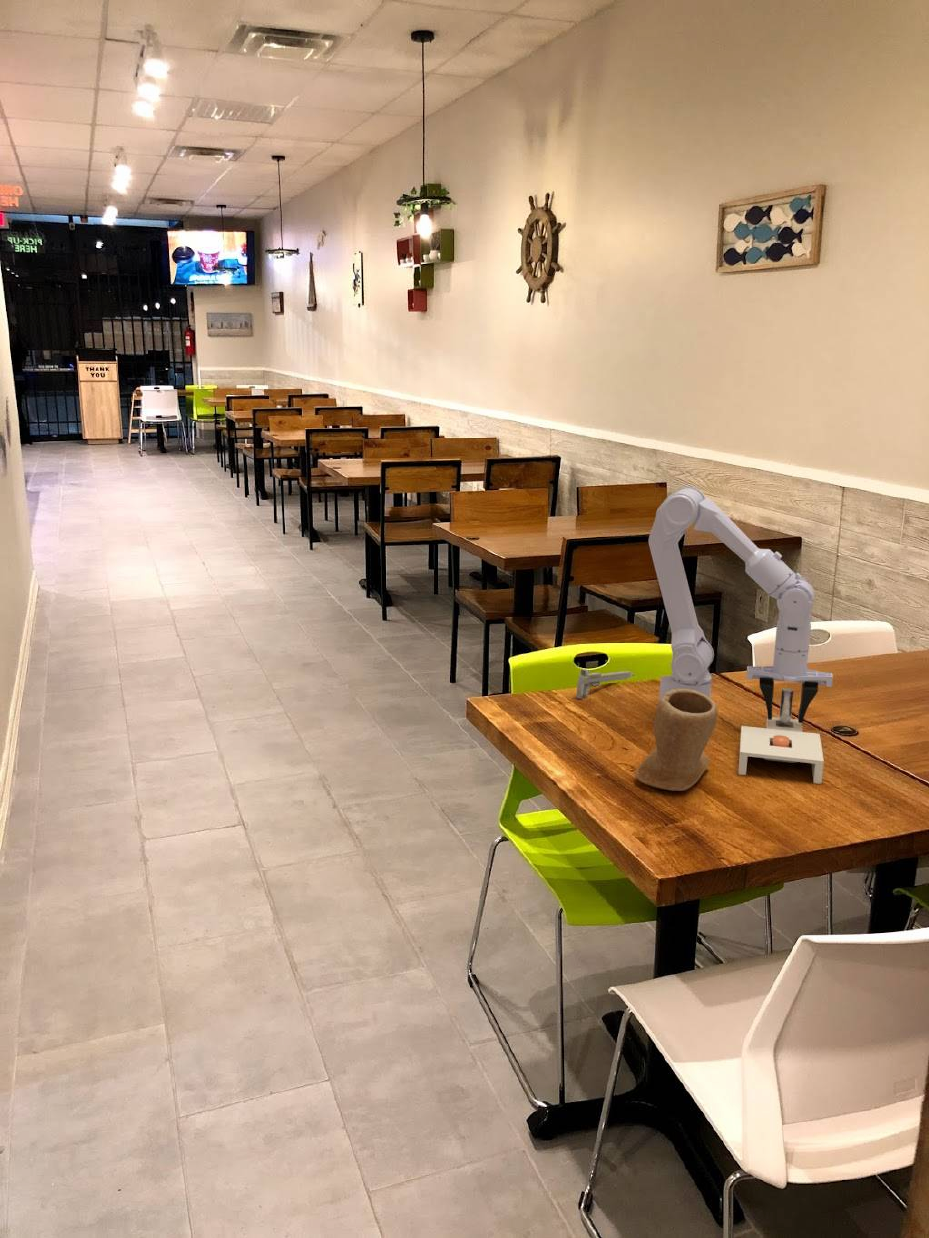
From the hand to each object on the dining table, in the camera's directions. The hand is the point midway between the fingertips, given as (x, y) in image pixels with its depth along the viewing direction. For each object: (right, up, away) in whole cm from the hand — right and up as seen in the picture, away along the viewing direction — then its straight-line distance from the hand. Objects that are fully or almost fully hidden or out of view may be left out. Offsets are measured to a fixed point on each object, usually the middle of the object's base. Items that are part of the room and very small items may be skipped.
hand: (784, 719), depth 174 cm
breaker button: (-5, -5, -11) cm, 13 cm away
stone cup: (-23, -8, -16) cm, 29 cm away
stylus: (0, -3, +1) cm, 3 cm away
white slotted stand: (-5, -7, -11) cm, 13 cm away
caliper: (-28, +4, +27) cm, 40 cm away
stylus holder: (0, -3, +1) cm, 3 cm away
